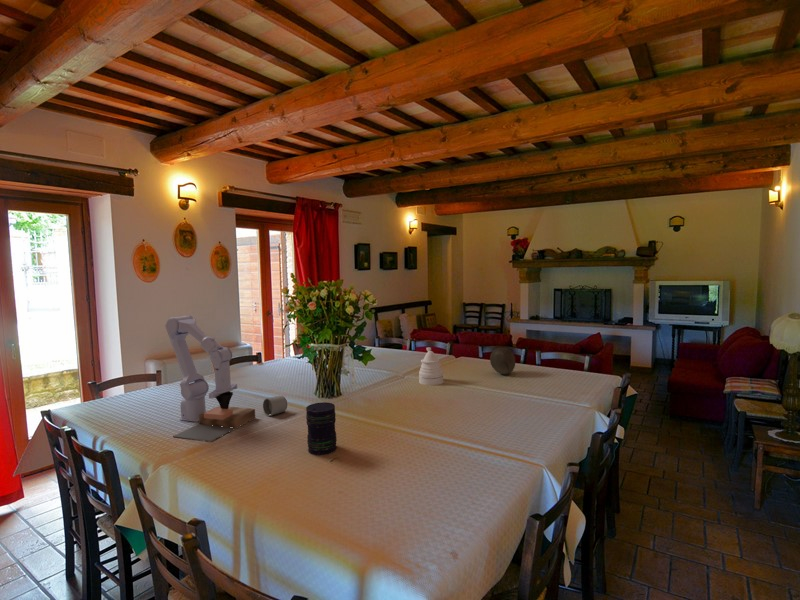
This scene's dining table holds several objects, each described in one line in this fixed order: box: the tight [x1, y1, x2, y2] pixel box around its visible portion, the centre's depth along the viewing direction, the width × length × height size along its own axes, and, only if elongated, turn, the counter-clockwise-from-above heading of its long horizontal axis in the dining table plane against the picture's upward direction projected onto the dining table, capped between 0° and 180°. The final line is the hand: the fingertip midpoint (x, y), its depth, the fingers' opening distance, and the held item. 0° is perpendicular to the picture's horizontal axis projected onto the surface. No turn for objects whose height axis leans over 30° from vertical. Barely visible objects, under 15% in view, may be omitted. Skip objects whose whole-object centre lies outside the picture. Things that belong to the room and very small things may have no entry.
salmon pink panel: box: [204, 407, 233, 420], centre depth 175 cm, size 9×6×2 cm, turn 72°
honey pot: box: [418, 347, 444, 386], centre depth 231 cm, size 13×13×18 cm
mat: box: [172, 423, 236, 442], centre depth 168 cm, size 18×13×1 cm
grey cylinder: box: [262, 395, 288, 417], centre depth 189 cm, size 11×8×8 cm
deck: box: [198, 405, 256, 429], centre depth 180 cm, size 18×12×4 cm, turn 72°
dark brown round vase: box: [489, 347, 516, 376], centre depth 243 cm, size 14×14×15 cm
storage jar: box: [305, 401, 337, 456], centre depth 149 cm, size 10×10×15 cm
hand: (224, 410), depth 179 cm, fingers closed
